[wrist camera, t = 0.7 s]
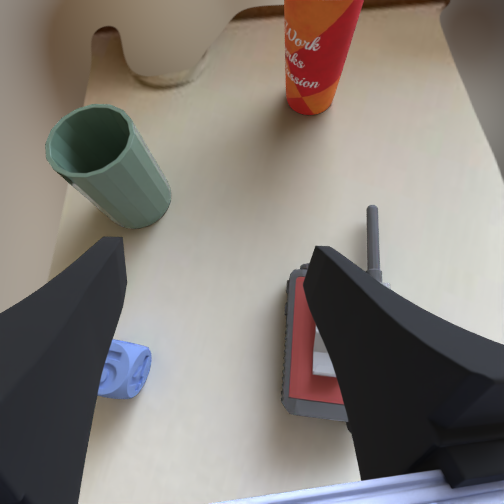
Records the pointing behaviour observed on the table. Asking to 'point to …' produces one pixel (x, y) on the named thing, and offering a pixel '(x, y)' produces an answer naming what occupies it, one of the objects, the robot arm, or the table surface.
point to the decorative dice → (124, 370)
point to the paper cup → (316, 50)
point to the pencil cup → (109, 164)
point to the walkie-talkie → (316, 345)
